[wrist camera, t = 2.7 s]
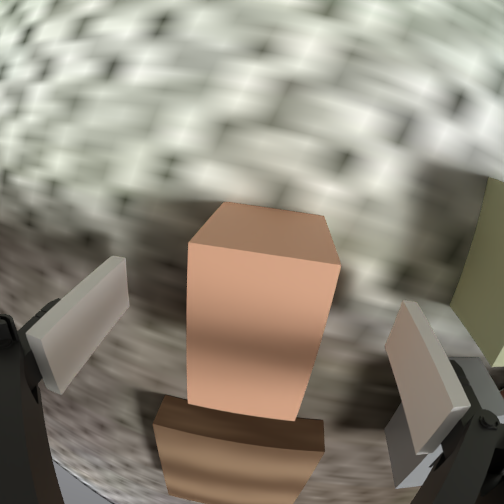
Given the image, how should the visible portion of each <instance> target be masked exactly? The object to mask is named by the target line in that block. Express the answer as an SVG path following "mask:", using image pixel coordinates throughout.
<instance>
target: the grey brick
mask: <svg viewBox="0 0 504 504" xmlns="http://www.w3.org/2000/svg"><path fill="white" fill-rule="evenodd" d="M448 359H449V360H455V361H456V362H457V363H458V364H459V365H460V366H461V367H462V369H463V371H464V373H465V375H466V378H467V379H468V381H469V383H470V385H471V387H472V389H473V391H474V393H475V395H476V397H477V399H478V401H479V403H480V405H481V407H482V409H486V410H489V411H491V412H493V413H494V414H495V415H496V416H497V417H498V419H499V421H500V423H502V424H504V399H503V397H502V395H501V393H500V392H499V390H498V388H497V386H496V385H495V383H494V381H493V379H492V378H491V376H490V374H489V373H488V371H487V369H486V368H485V366H484V364H483V363H482V361H481V360H480V358H479V357H448ZM384 430H385V435H386V440H387V445H388V450H389V455H390V461H391V466H392V472H393V478H394V484H395V489H397V488H406V487H414V486H421V485H423V483H424V481H425V480H426V478H427V476H428V474H429V473H430V471H431V469H432V467H433V466H434V465H433V466H432V467H431V468H430V467H429V466H430V465H431V464H432V463H433V462H434V461H435V459H436V458H437V457H438V456H439V455H440V454H441V453H442V452H443V450H442V446H441V444H440V445H439V446H438V448H437V449H436V450H435V451H434V452H433V453H429V454H419V455H416V453H415V449H414V445H413V441H412V437H411V433H410V429H409V425H408V422H407V418H406V414H405V411H404V407H403V404H402V402H401V403H400V405H399V407H398V408H397V410H396V412H395V413H394V415H393V416H392V418H391V420H390V421H389V423H388V424H387V426H386V427H385V429H384Z"/></svg>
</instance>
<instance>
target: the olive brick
mask: <svg viewBox="0 0 504 504" xmlns="http://www.w3.org/2000/svg"><path fill="white" fill-rule="evenodd" d="M450 307H451V308H452V309H453V311H454V312H455V314H456V315H457V316H458V318H459V319H460V320H461V322H462V323H463V325H464V326H465V328H466V329H467V330H468V332H469V333H470V335H471V336H472V338H473V339H474V341H475V342H476V344H477V345H478V347H479V348H480V350H481V351H482V353H483V354H484V356H485V357H486V359H487V360H488V362H489V364H490V365H491V367H504V182H502V181H499V180H496V179H493V178H490V177H488V181H487V186H486V190H485V195H484V199H483V203H482V207H481V211H480V215H479V219H478V223H477V227H476V230H475V234H474V237H473V240H472V244H471V247H470V250H469V253H468V256H467V259H466V262H465V265H464V268H463V271H462V274H461V277H460V280H459V282H458V285H457V288H456V290H455V293H454V295H453V298H452V301H451V303H450Z"/></svg>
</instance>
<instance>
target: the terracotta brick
mask: <svg viewBox="0 0 504 504" xmlns="http://www.w3.org/2000/svg"><path fill="white" fill-rule="evenodd" d="M340 268H341V263H340V260H339V257H338V254H337V251H336V248H335V245H334V243H333V240H332V237H331V234H330V231H329V228H328V226H327V223H326V220H325V217H324V216H320V215H313V214H307V213H301V212H294V211H288V210H281V209H274V208H267V207H260V206H253V205H246V204H238V203H231V202H223V203H222V204H221V206H220V207H219V208H218V209H217V210H216V211H215V212H214V213H213V215H212V216H211V217H210V218H209V219H208V220H207V221H206V223H205V224H204V225H203V226H202V227H201V228H200V229H199V231H198V232H197V233H196V234H195V235H194V236H193V238H192V239H191V240H190V241H189V242H188V268H187V394H188V404H192V405H197V406H201V407H206V408H211V409H216V410H221V411H227V412H232V413H238V414H244V415H250V416H257V417H264V418H271V419H279V420H288V421H295V419H296V416H297V414H298V411H299V408H300V405H301V402H302V399H303V396H304V393H305V390H306V387H307V384H308V381H309V378H310V375H311V372H312V369H313V366H314V362H315V359H316V356H317V353H318V349H319V346H320V343H321V339H322V336H323V332H324V329H325V325H326V322H327V318H328V315H329V311H330V307H331V304H332V300H333V296H334V292H335V288H336V284H337V280H338V276H339V272H340Z"/></svg>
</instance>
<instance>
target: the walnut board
mask: <svg viewBox="0 0 504 504" xmlns="http://www.w3.org/2000/svg"><path fill="white" fill-rule="evenodd" d="M153 428H154V433H155V438H156V443H157V448H158V452H159V457H160V461H161V465H162V470H163V474H164V478H165V482H166V486H167V489H168V493H169V495H172V496H175V497H179V498H183V499H187V500H192V501H196V502H201V503H205V504H293V503H294V501H295V500H296V498H297V497H298V495H299V494H300V492H301V491H302V489H303V487H304V486H305V484H306V483H307V481H308V479H309V478H310V476H311V475H312V473H313V471H314V470H315V468H316V466H317V464H318V463H319V461H320V459H321V458H322V456H323V454H324V452H325V446H324V423H323V420H313V419H302V418H296V419H295V421H288V420H279V419H271V418H264V417H257V416H250V415H244V414H238V413H232V412H227V411H221V410H216V409H211V408H206V407H201V406H197V405H192V404H188V400H185V399H181V398H176V397H172V396H168V395H165V397H164V399H163V401H162V403H161V406H160V408H159V410H158V412H157V415H156V417H155V419H154V421H153Z"/></svg>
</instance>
